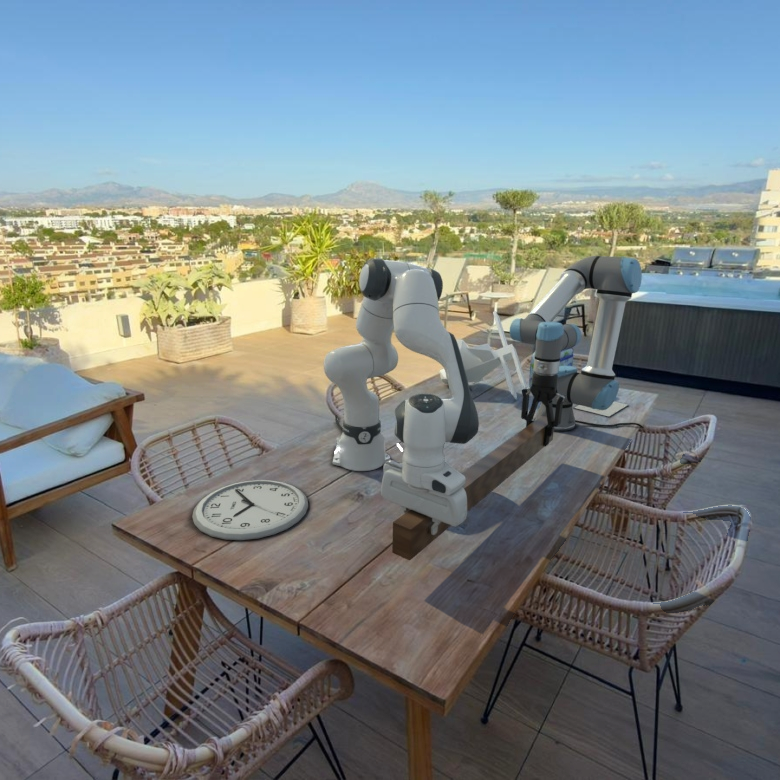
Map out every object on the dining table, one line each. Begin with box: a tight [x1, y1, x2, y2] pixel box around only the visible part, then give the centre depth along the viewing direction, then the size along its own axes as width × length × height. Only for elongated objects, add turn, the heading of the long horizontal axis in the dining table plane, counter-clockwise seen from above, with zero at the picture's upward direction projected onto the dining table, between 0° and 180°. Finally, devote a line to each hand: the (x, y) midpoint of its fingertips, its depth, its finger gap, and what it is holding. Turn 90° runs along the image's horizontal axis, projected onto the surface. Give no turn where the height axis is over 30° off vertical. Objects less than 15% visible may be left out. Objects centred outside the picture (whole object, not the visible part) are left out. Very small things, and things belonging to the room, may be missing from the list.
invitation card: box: [573, 401, 629, 418], centre depth 226 cm, size 21×1×15 cm
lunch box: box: [528, 347, 574, 388], centre depth 247 cm, size 26×11×21 cm, turn 134°
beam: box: [391, 416, 555, 561], centre depth 140 cm, size 83×5×7 cm, turn 143°
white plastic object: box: [438, 310, 531, 400], centre depth 245 cm, size 37×45×31 cm
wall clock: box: [191, 479, 309, 541], centre depth 140 cm, size 30×2×30 cm
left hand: (421, 528), depth 114 cm, fingers closed on beam, 4 cm apart
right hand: (537, 442), depth 168 cm, fingers closed on beam, 5 cm apart
